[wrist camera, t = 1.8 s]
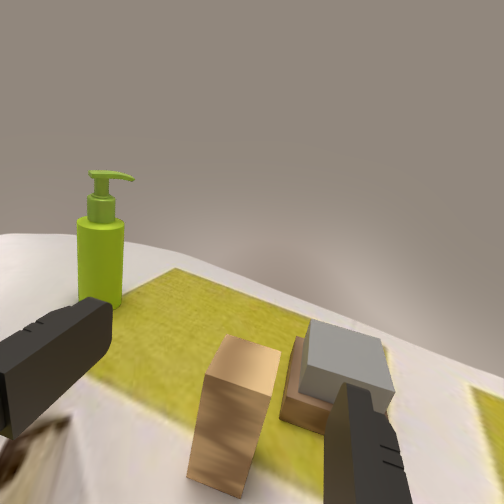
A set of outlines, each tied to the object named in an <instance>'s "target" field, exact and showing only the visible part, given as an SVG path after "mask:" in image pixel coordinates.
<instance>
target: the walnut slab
mask: <svg viewBox="0 0 504 504" xmlns="http://www.w3.org/2000/svg"><path fill="white" fill-rule="evenodd" d="M303 342H304V338H301V337H298V336H296V339H295V342H294V345H293V349H292V352H291V355H290V360H289V366H288V371H287V377H286V382H285V388H284V394H283V399H282V405H281V410H280V416H279V419H280V420H283V421H286V422H288V423H291V424H294V425H297V426H299V427H302V428H305V429H308V430H310V431H313V432H316V433H319V434H322V435H324V434H325V427H326V423H327V419H328V416H329V414H330V411H331V409H332V406H333V404H332V403H329V402H326V401H323V400H320V399H317V398H314V397H311V396H308V395H305V394H302V393H299V392H298V388H299V378H300V369H301V360H302V351H303ZM384 415H385V416H386V418H387V419H388V415H387V411H386V412H385V414H384ZM388 421H389V420H388Z"/></svg>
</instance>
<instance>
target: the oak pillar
mask: <svg viewBox="0 0 504 504" xmlns="http://www.w3.org/2000/svg"><path fill="white" fill-rule="evenodd" d="M280 356H281V351H278V350H274V349H271V348H268V347H265V346H262V345H259V344H256V343H253V342H250V341H247V340H244V339H241V338H238V337H235V336H231V335H228V334H226V336H225V337H224V339H223V341H222V343H221V345H220V347H219V349H218V350H217V352H216V354H215V356H214V358H213V360H212V362H211V364H210V365H209V367H208V369H207V371H206V373H205V377H204V382H203V388H202V393H201V399H200V404H199V410H198V415H197V421H196V426H195V432H194V437H193V443H192V448H191V454H190V459H189V465H188V470H187V476H186V477H187V478H190V479H192V480H195V481H197V482H200V483H202V484H205V485H207V486H209V487H212V488H214V489H217V490H219V491H222V492H224V493H227V494H229V495H232V496H234V497H236V498H239V499H240V498H241V495H242V492H243V488H244V485H245V482H246V479H247V475H248V472H249V469H250V465H251V462H252V459H253V455H254V452H255V449H256V446H257V442H258V439H259V436H260V432H261V429H262V426H263V422H264V419H265V416H266V413H267V409H268V406H269V403H270V399H271V396H272V391H273V387H274V382H275V378H276V374H277V369H278V365H279V360H280Z"/></svg>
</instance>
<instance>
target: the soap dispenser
mask: <svg viewBox="0 0 504 504" xmlns="http://www.w3.org/2000/svg"><path fill="white" fill-rule="evenodd" d="M88 173H89V174H88V175H89V176H90V177H91V178H94V193H92V194H90V195H88V196H87V216H85V217H81V218H79V219H78V220H77V256H78V298H79V302H80V301H81V300H83V299H84V298H86V297H93V298H96V299H99V300H102V301H105V302H108V303H111V304H112V307H113V310H114V309H116V308H118V307H119V306H120V304H121V300H122V274H123V249H124V222H123V221H122V220H120V219H118V218H115V197H113V196H111V195H110V194H109V179H123V180H128V181H134V180H135V179H134V178H133V177H132V176H130V175H127V174H125V173H121V172H116V171H107V170H92V171H91V170H89V171H88Z"/></svg>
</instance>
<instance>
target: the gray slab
mask: <svg viewBox="0 0 504 504" xmlns="http://www.w3.org/2000/svg"><path fill="white" fill-rule="evenodd" d="M343 382H346V383H349V384H352V385H355V386H358V387H361V388H364V389H367V390H369V391H370V393H371V398H372V404H373V409H374V411H376V412H379V413H381V414H385V412H386V410H387V408H388V406H389V404H390V402H391V400H392V398H393V396H394V394H395V389H394V386H393V382H392V379H391V375H390V372H389V368H388V365H387V361H386V358H385V354H384V351H383V347H382V344H381V340H380V339H379V338H375V337H372V336H369V335H365V334H362V333H358V332H355V331H352V330H348V329H345V328H341V327H338V326H335V325H331V324H328V323H324V322H321V321H318V320H314V319H311V320H310V324H309V327H308V330H307V333H306V336H305V339H304V342H303V351H302V360H301V369H300V378H299V388H298V392H299V393H302V394H305V395H308V396H311V397H314V398H317V399H320V400H323V401H326V402H329V403H332V404H334V402H335V399H336V397H337V394H338V392H339V390H340V387H341V385H342V383H343Z"/></svg>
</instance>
